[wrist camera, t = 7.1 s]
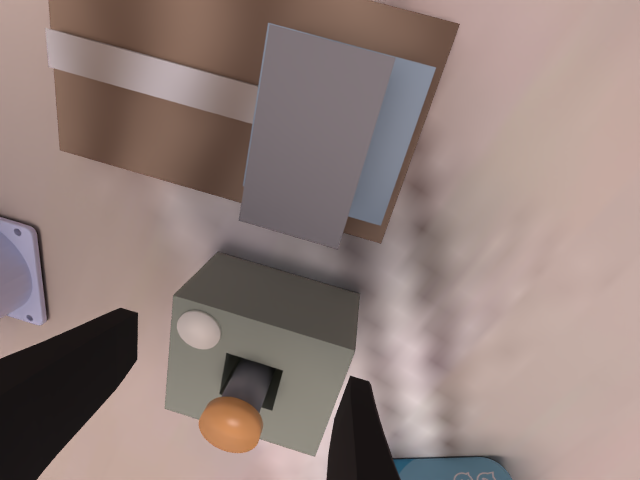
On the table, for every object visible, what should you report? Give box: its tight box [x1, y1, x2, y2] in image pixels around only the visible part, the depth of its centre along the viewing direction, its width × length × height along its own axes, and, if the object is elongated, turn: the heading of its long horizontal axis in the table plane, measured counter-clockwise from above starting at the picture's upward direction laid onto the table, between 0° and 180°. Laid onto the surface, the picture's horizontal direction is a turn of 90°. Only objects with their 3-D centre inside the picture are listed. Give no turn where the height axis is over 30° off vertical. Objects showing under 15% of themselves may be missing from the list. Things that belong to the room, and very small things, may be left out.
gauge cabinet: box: [165, 252, 360, 457], centre depth 20 cm, size 9×8×5 cm
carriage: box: [239, 23, 436, 249], centre depth 12 cm, size 6×6×7 cm
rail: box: [45, 0, 460, 243], centre depth 16 cm, size 18×10×2 cm, turn 76°
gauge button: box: [199, 357, 276, 453], centre depth 17 cm, size 3×3×5 cm
